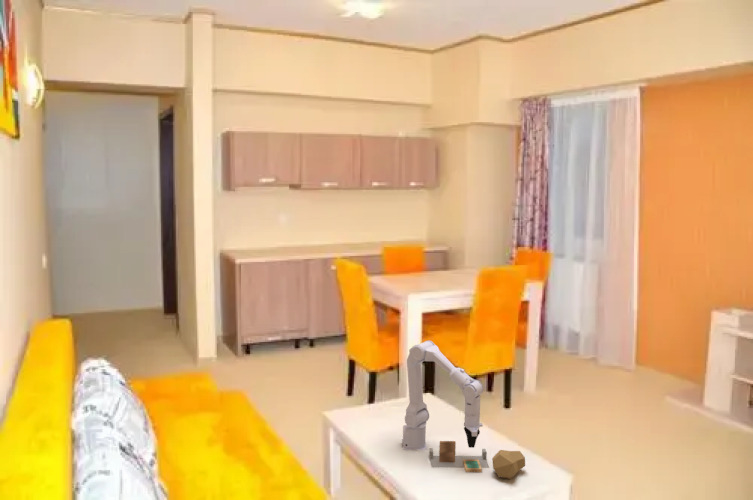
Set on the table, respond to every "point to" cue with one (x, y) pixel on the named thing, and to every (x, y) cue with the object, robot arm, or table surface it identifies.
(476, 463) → the oak tile
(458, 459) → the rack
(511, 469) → the low-poly potato
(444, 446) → the walnut tile
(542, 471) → the table surface
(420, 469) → the table surface
